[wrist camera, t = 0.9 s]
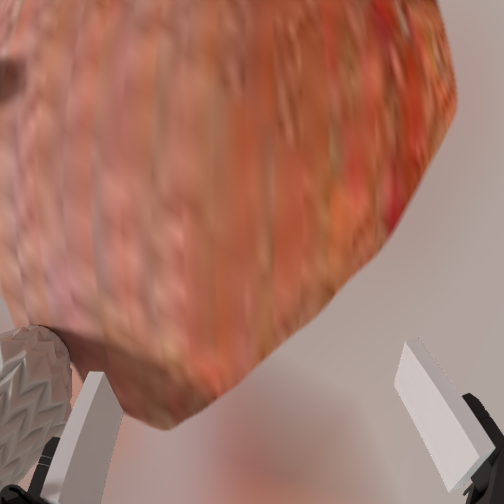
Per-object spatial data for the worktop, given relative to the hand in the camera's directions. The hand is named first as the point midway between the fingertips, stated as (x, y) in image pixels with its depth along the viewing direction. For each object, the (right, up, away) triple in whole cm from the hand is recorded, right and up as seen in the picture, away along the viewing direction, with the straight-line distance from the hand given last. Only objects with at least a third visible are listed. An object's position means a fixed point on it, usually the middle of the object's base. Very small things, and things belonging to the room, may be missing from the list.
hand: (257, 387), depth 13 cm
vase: (-32, -9, +28) cm, 44 cm away
